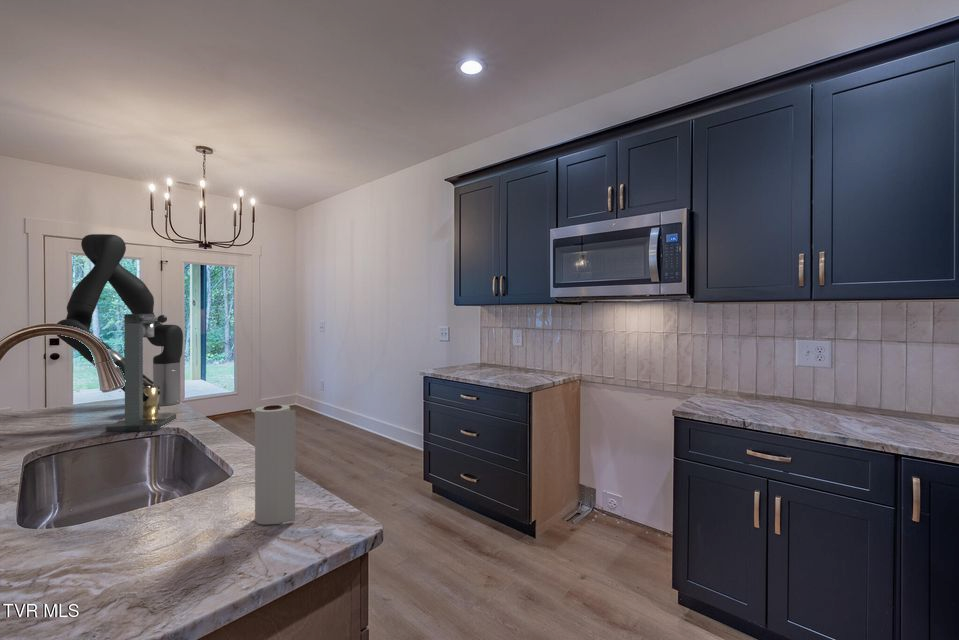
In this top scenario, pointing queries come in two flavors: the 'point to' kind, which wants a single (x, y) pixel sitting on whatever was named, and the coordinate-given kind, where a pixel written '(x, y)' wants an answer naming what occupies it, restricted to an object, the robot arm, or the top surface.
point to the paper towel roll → (274, 464)
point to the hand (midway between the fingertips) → (152, 397)
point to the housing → (150, 402)
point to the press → (137, 376)
